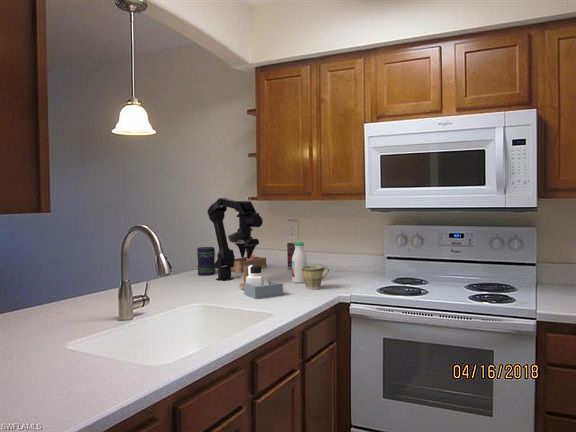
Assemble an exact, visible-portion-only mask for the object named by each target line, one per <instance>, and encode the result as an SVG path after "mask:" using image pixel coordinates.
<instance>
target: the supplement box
mask: <svg viewBox="0 0 576 432" xmlns="http://www.w3.org/2000/svg"><path fill="white" fill-rule="evenodd" d="M286 246H287V249H286V251H287V254H286V255H287V256H286V257H287V271H292V256H293V254H294V251H295V242H288V243H287V244H286Z"/></svg>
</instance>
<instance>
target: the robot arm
mask: <svg viewBox="0 0 576 432" xmlns="http://www.w3.org/2000/svg"><path fill="white" fill-rule="evenodd" d="M228 208H229V209H234V211H235V212H237V215H236V218H238V225H239V227H238V228H237V230H236V232H234V233H231V234H229V235H226V230H225V226H224V224H225V223H224V219H225V213H226V211H228V210H227V209H228ZM206 213H207V216H208V218H209V220H210V221H211V223H212V224H213V226H214V231H215V237H216V240H217V246H218V252H217V254H216V255H217V260H215V264H214V265H215V269H217V278H215V280H216V281H217V280H218V281H230V280H233V279H234V278H233V277H232V272H231V268H230V267H233V266H234V261H235V259H236V257H235V254H234V253H235V252H234V250H233V249H231V248H230V247H229V242H230V243H234V245H235V246H237V248H238V250H239V254H240V256H241V257H240V258H242V257H245V254H246V257H247V259H250V257H251V255H252V254H254V253H253V252H254V251H255V249H256V247H257V245H258V246H259V245H260V240H259V239H258V238H255V237H253V236H252V232H253V231H254V230H253V228H260V227H261V226H262V225H263V222H264V221H263V218H262V216H260V213H259V212H257V210H256V209H255V207H254V204H253V203H252V201H250V200H235V199H229V198H226V197H221V198H218V199H216V201H215V202H213V203H211V205H210V206H209V208H208V209H207V212H206ZM227 238H228V239H227ZM228 240H229V242H228Z"/></svg>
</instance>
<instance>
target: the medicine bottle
mask: <svg viewBox="0 0 576 432" xmlns="http://www.w3.org/2000/svg"><path fill="white" fill-rule="evenodd" d="M248 274H249V275H248V276H247V277H246V283H248V284H251V285H254V286H264V285H265V275H264V274H262V267H261V266H260V265H250V266H249V267H248Z"/></svg>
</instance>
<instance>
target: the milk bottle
mask: <svg viewBox="0 0 576 432" xmlns="http://www.w3.org/2000/svg"><path fill="white" fill-rule="evenodd" d="M294 243H295V251H294V254H293V256H292V270H291V281H292V283H294V284H305V281H304V276H303V272H302V267H303V266H308V258H307V254H306V253H305V249H304V246H305V243H304V242H303V241H296V242H295V241H294Z"/></svg>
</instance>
